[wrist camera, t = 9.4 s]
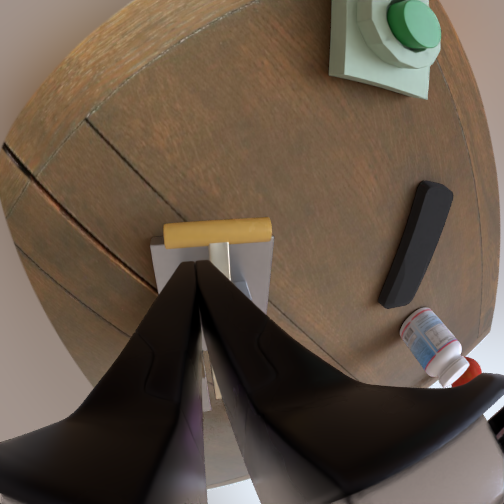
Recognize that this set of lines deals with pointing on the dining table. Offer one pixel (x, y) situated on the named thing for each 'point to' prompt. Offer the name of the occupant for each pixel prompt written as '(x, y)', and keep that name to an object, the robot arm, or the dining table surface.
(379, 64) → the push button base
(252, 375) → the robot arm
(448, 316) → the dining table surface
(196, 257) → the latch bracket
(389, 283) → the remote control
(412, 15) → the button
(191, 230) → the latch lever
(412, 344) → the pill bottle
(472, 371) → the apple
